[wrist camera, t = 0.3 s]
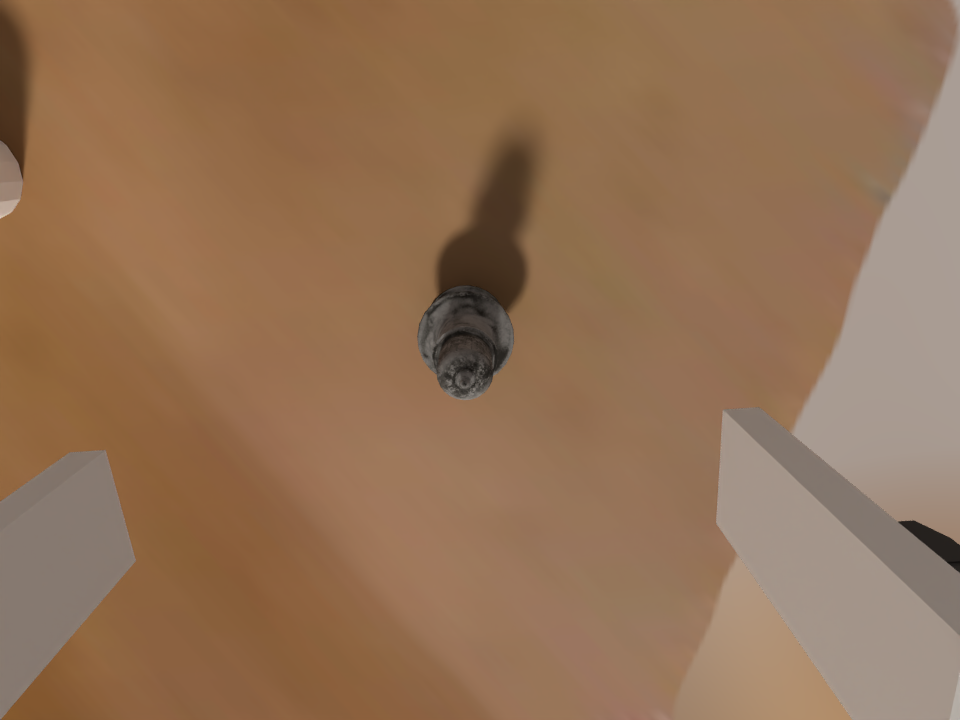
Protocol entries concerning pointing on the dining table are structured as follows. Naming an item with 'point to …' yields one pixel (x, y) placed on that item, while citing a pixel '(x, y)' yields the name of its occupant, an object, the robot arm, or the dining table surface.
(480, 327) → the grey chess piece
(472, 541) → the dining table surface
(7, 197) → the grey cup of milk
